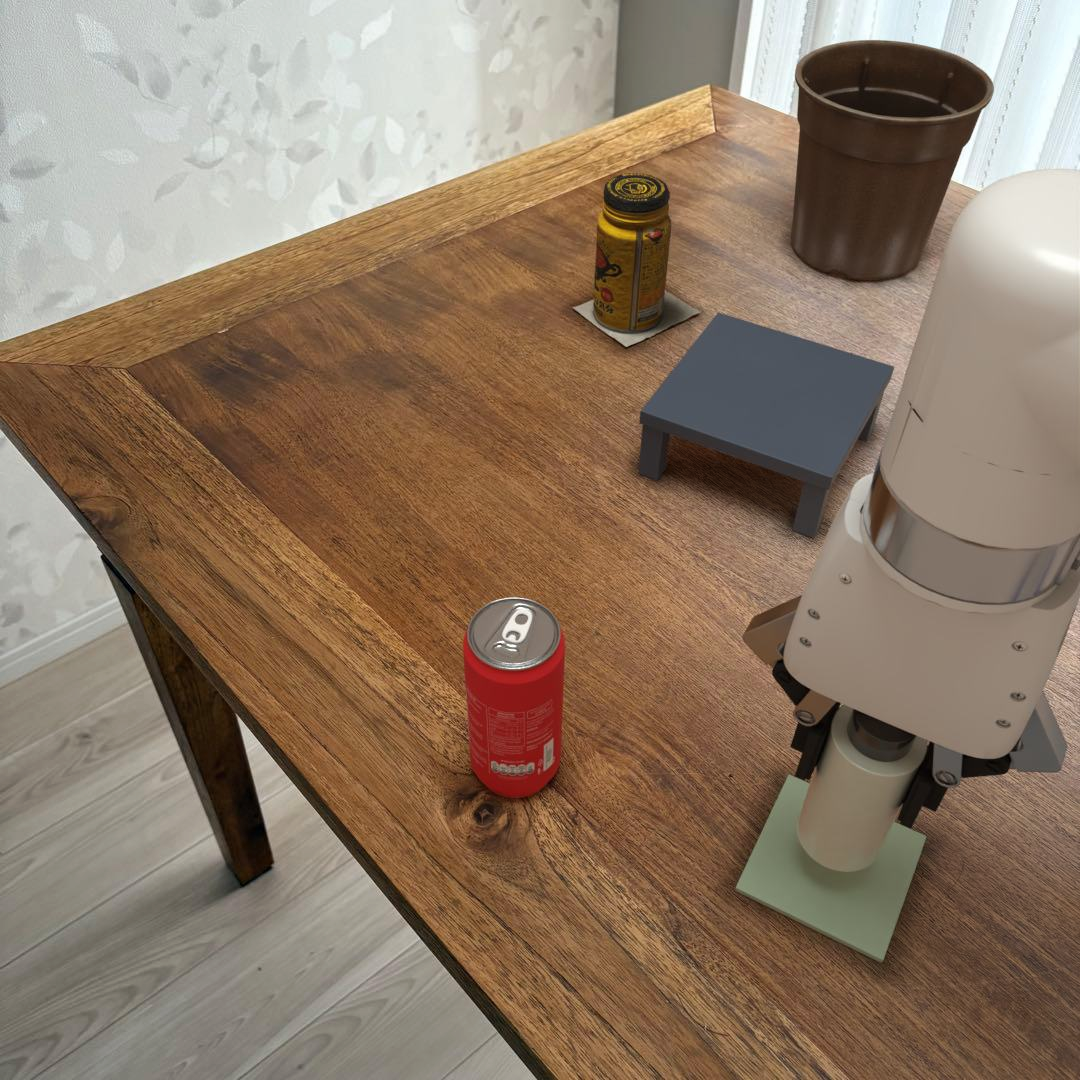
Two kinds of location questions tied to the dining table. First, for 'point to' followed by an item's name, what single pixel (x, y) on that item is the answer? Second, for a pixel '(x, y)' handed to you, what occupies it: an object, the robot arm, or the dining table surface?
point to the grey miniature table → (767, 406)
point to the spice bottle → (857, 789)
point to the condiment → (633, 262)
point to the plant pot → (878, 151)
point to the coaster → (830, 880)
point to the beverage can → (514, 695)
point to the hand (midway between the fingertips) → (861, 777)
